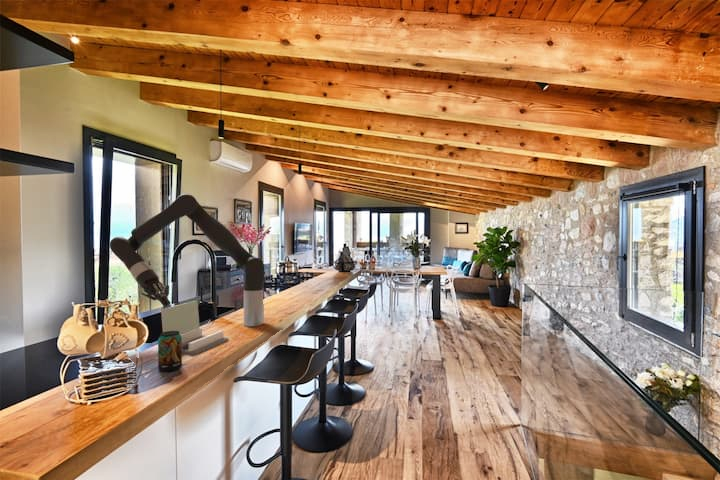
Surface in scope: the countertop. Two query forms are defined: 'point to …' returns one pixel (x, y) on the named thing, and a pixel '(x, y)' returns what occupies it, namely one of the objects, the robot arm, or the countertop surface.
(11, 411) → the countertop surface
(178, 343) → the beverage can
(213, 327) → the countertop surface
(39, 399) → the countertop surface
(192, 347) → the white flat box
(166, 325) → the cover
